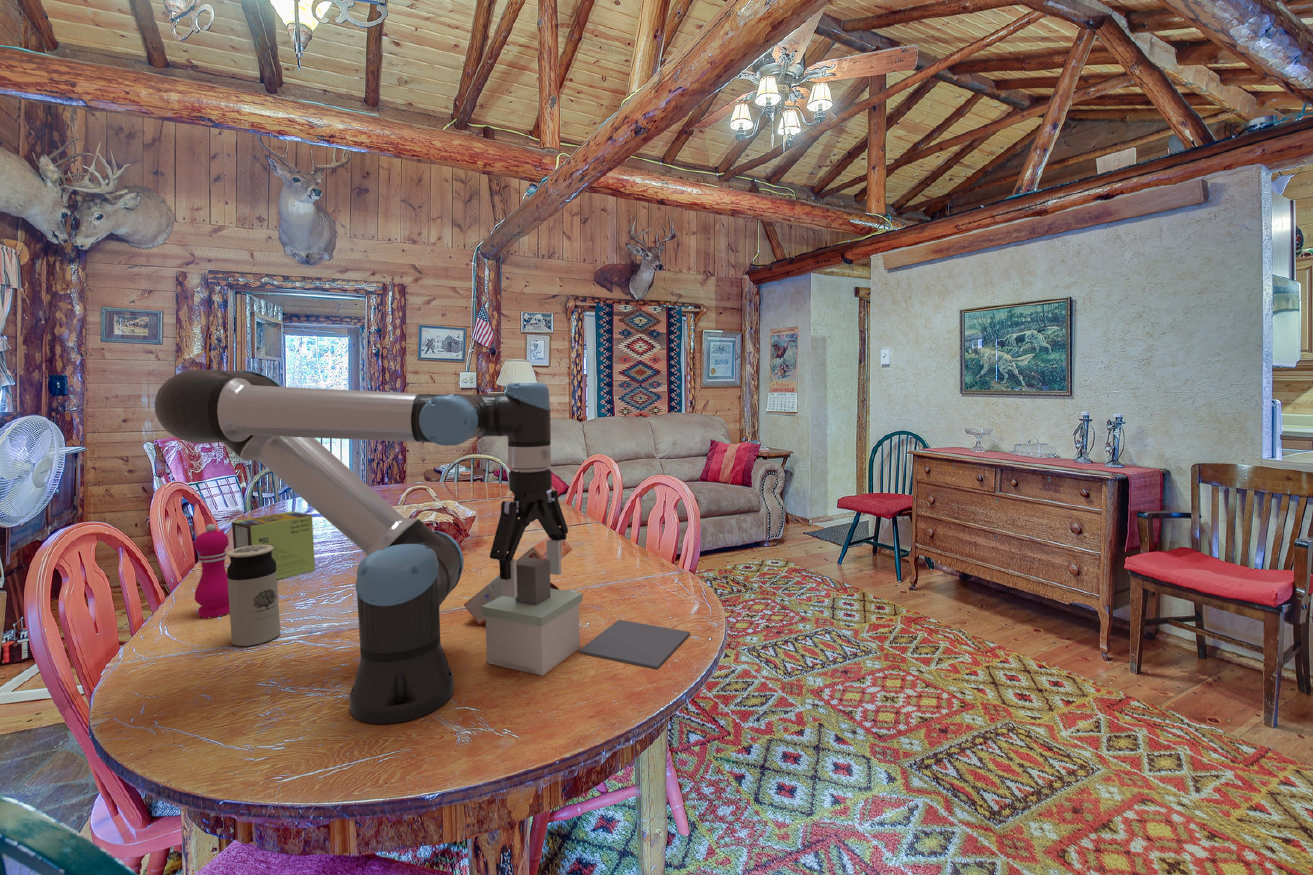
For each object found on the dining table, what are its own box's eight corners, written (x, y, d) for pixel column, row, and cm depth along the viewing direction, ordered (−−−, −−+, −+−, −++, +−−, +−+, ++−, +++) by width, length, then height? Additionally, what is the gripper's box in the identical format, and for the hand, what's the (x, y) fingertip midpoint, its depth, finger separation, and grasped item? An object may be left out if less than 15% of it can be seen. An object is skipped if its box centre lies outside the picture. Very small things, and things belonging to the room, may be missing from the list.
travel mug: (226, 639, 117) (220, 550, 115) (272, 627, 123) (267, 542, 121) (239, 651, 112) (233, 557, 110) (286, 637, 118) (281, 548, 116)
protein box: (316, 570, 161) (313, 514, 160) (253, 586, 148) (249, 525, 147) (296, 564, 167) (293, 510, 166) (234, 579, 154) (230, 521, 153)
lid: (542, 631, 100) (541, 577, 99) (481, 620, 105) (479, 567, 104) (582, 606, 112) (581, 556, 111) (526, 596, 117) (524, 549, 116)
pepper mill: (240, 612, 131) (234, 523, 129) (199, 622, 126) (192, 529, 124) (232, 604, 136) (226, 518, 134) (192, 613, 131) (186, 524, 129)
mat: (657, 669, 103) (657, 666, 103) (578, 652, 110) (578, 650, 110) (690, 634, 118) (690, 631, 118) (619, 621, 124) (619, 619, 124)
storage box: (542, 675, 101) (541, 624, 100) (486, 662, 106) (485, 614, 105) (579, 647, 112) (578, 601, 111) (527, 637, 117) (526, 592, 116)
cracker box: (479, 627, 123) (550, 567, 118) (461, 605, 123) (531, 544, 119) (509, 603, 136) (574, 549, 132) (493, 583, 137) (557, 528, 132)
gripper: (502, 480, 93) (505, 610, 95) (584, 461, 116) (586, 567, 118) (465, 477, 96) (469, 604, 98) (552, 460, 119) (554, 563, 121)
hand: (533, 584), depth 108 cm, fingers open, 13 cm apart
